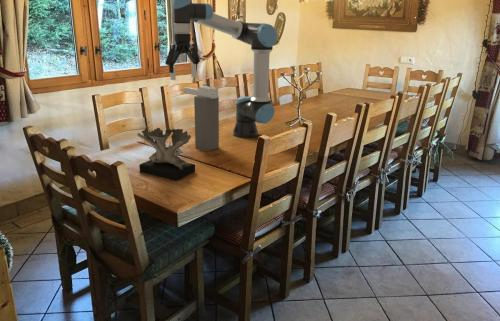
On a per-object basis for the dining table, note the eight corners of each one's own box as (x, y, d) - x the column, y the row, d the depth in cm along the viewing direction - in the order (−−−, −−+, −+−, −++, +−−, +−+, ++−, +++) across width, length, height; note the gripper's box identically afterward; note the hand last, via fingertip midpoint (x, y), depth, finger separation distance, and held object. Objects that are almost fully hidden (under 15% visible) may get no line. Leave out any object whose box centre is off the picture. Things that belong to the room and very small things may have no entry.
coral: (201, 173, 187) (200, 128, 180) (171, 188, 171) (169, 138, 164) (160, 163, 200) (158, 120, 193) (128, 175, 183) (125, 129, 176)
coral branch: (173, 166, 206) (165, 155, 198) (165, 156, 211) (157, 145, 202) (187, 156, 208) (181, 144, 200) (179, 146, 212) (172, 134, 204)
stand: (195, 147, 224) (194, 96, 214) (207, 144, 230) (206, 94, 221) (207, 151, 218) (206, 99, 209) (218, 147, 225) (218, 96, 216)
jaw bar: (182, 93, 223) (181, 84, 221) (188, 92, 226) (188, 83, 225) (211, 98, 210) (211, 89, 208) (218, 97, 213) (218, 87, 212)
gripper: (196, 32, 205) (196, 75, 212) (156, 33, 187) (158, 80, 194) (206, 33, 201) (207, 76, 208) (167, 33, 182) (169, 81, 189)
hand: (183, 78), depth 201 cm, fingers open, 13 cm apart
